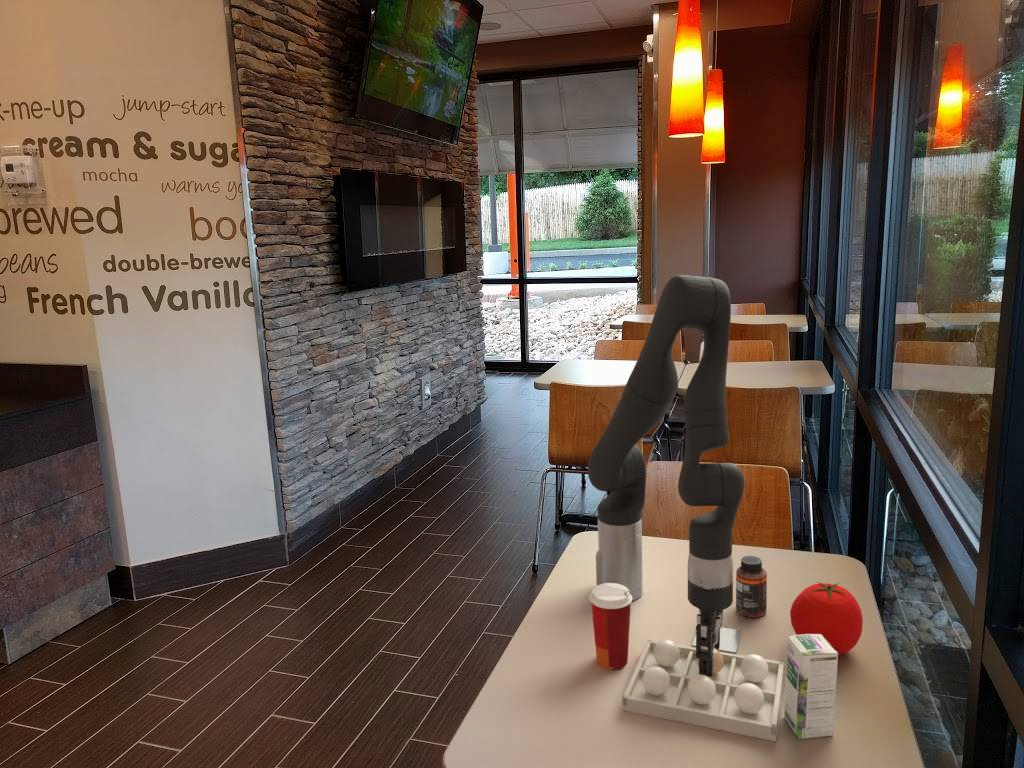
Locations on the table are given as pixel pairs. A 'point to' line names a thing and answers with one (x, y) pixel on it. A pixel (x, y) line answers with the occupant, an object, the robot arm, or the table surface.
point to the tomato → (828, 615)
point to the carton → (729, 711)
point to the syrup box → (810, 685)
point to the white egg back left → (666, 653)
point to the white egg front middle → (701, 689)
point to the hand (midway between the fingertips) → (709, 661)
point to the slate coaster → (726, 640)
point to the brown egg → (715, 661)
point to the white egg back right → (754, 668)
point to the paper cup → (611, 624)
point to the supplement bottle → (751, 587)
